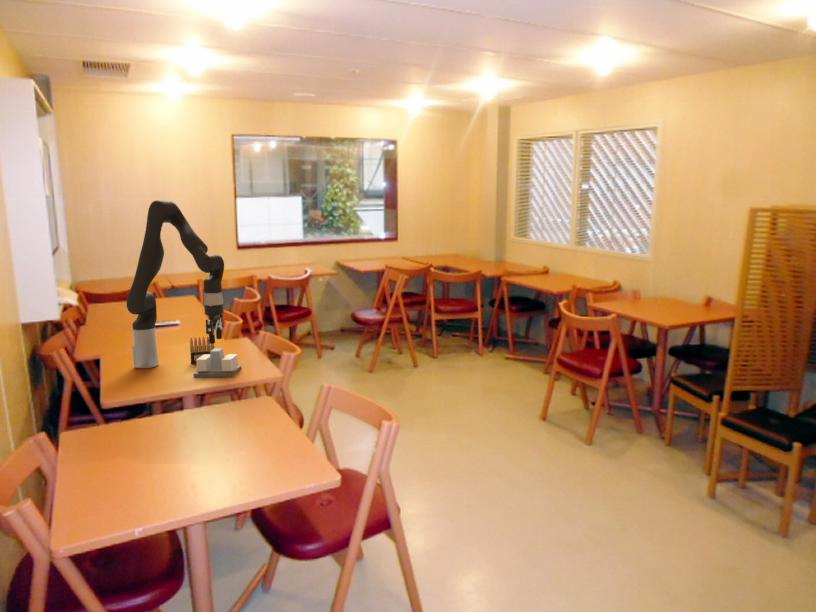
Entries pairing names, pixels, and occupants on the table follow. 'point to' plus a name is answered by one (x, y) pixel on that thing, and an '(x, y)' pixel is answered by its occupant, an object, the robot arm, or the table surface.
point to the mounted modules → (227, 362)
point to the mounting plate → (216, 373)
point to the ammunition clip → (199, 349)
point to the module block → (216, 358)
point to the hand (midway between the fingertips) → (215, 341)
